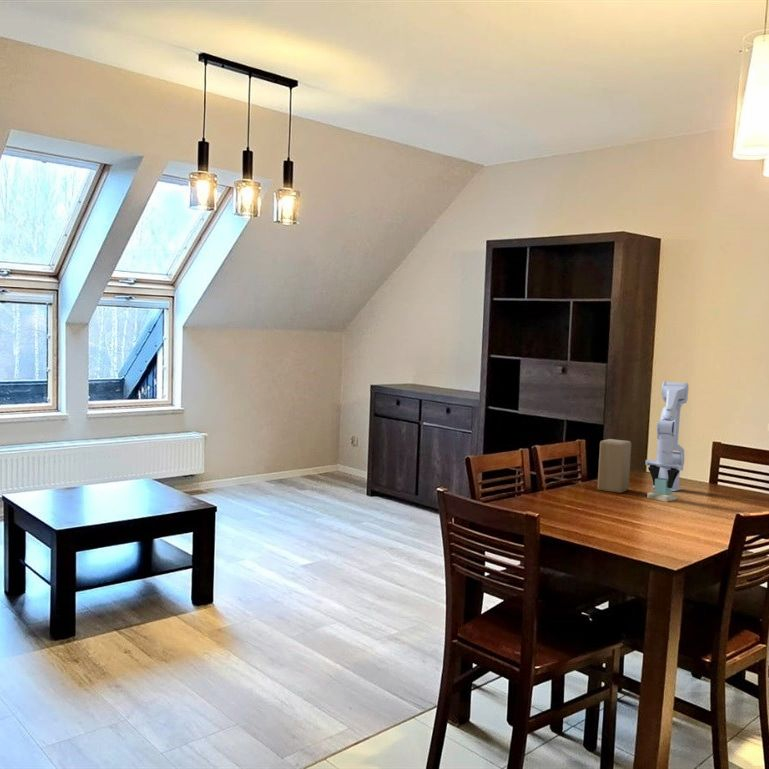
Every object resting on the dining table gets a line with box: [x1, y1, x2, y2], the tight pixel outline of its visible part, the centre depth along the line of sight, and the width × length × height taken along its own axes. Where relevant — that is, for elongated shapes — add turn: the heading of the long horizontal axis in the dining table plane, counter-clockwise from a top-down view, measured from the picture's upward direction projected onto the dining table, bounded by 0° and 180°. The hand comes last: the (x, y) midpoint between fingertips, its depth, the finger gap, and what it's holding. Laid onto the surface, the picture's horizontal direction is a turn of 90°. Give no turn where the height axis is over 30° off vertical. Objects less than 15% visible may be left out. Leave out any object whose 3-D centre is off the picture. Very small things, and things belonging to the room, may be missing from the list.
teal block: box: [653, 478, 672, 495], centre depth 295 cm, size 4×4×6 cm
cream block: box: [646, 490, 678, 502], centre depth 296 cm, size 8×8×2 cm
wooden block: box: [597, 438, 632, 494], centre depth 308 cm, size 10×10×20 cm
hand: (662, 486), depth 295 cm, fingers open, 5 cm apart
